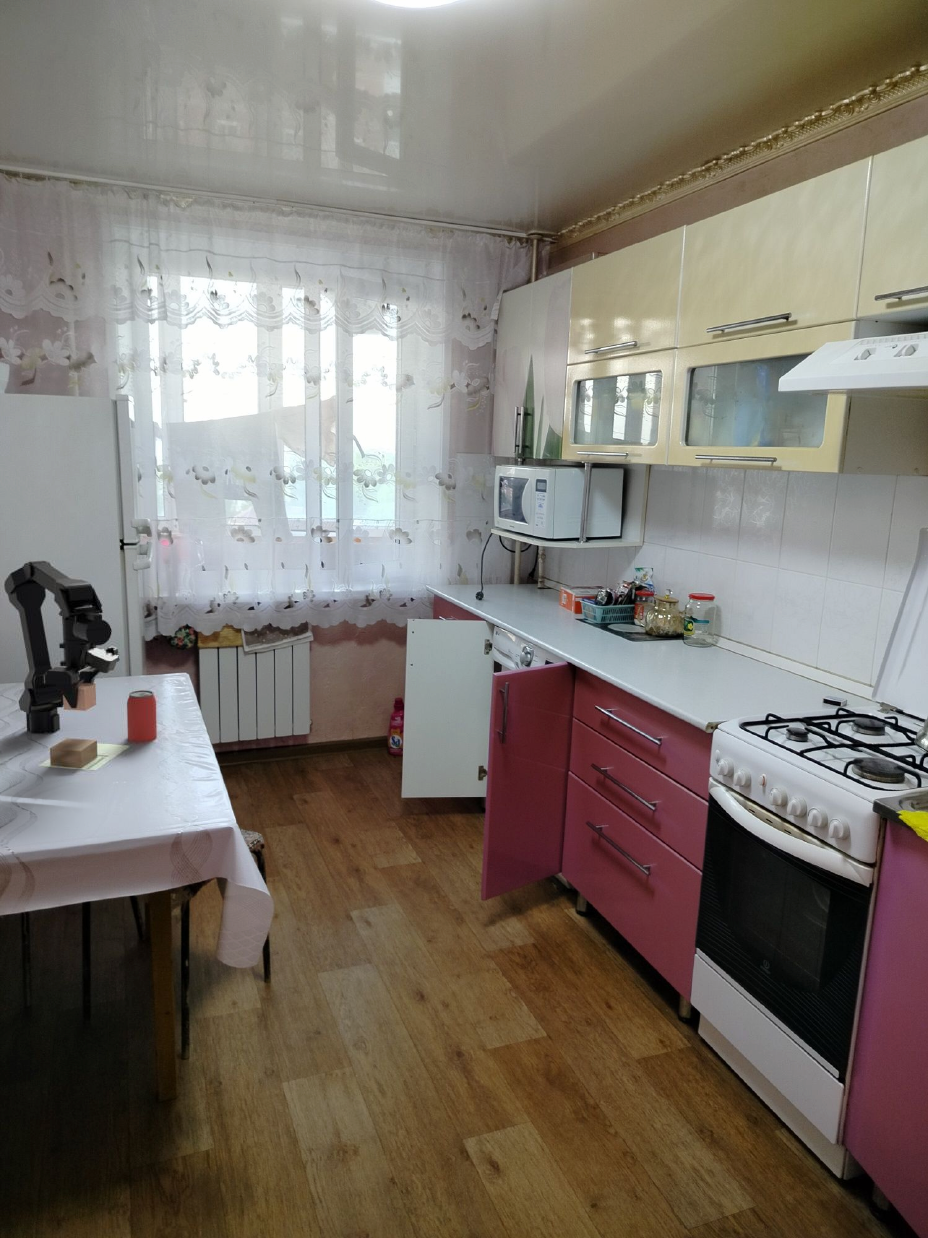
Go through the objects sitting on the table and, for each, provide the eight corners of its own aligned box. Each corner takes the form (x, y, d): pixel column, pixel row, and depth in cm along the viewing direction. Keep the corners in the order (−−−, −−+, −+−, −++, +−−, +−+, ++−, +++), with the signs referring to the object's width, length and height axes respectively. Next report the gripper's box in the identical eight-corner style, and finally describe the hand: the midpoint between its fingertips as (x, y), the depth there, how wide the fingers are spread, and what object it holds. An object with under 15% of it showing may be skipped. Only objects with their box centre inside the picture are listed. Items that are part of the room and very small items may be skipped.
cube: (63, 709, 191) (62, 688, 190) (75, 703, 196) (74, 682, 195) (85, 710, 191) (84, 689, 190) (96, 704, 196) (95, 683, 195)
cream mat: (38, 769, 185) (38, 765, 185) (77, 744, 201) (76, 741, 201) (95, 773, 184) (95, 770, 184) (130, 749, 200) (130, 745, 200)
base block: (50, 765, 185) (49, 748, 185) (67, 754, 192) (67, 738, 191) (81, 768, 185) (80, 750, 184) (97, 757, 192) (97, 740, 191)
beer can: (147, 746, 202) (146, 698, 200) (122, 743, 203) (120, 695, 201) (162, 738, 208) (161, 691, 206) (137, 735, 210) (136, 688, 207)
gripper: (91, 648, 181) (94, 719, 183) (130, 631, 199) (132, 695, 202) (40, 646, 181) (44, 716, 184) (84, 629, 200) (87, 693, 202)
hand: (79, 704), depth 193 cm, fingers closed on cube, 5 cm apart
